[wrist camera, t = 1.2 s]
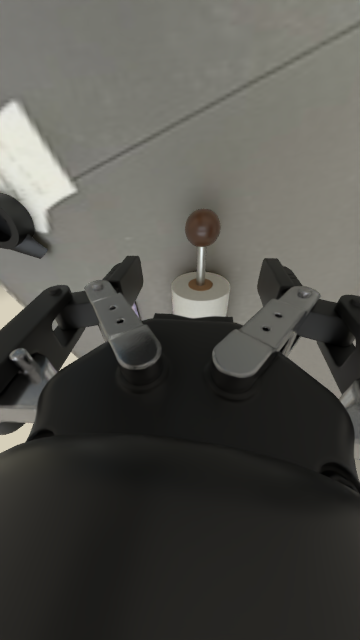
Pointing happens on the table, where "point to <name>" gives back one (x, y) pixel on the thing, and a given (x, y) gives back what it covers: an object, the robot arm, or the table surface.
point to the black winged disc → (17, 228)
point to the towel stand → (201, 273)
